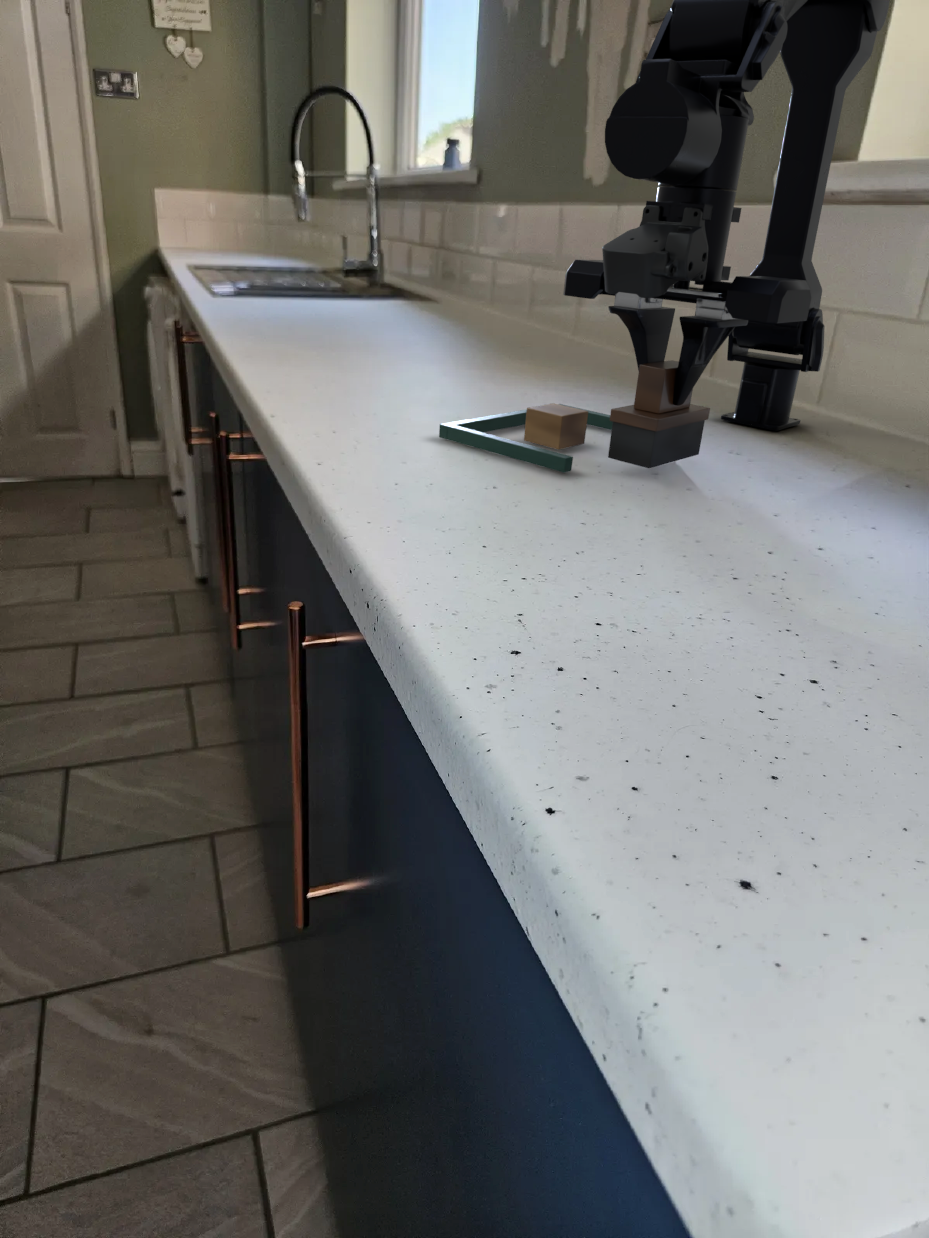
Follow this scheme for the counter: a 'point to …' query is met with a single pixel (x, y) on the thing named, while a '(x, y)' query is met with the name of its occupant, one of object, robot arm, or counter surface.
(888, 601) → the counter surface
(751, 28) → the robot arm
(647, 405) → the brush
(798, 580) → the counter surface
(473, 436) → the frame
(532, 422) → the cork block
